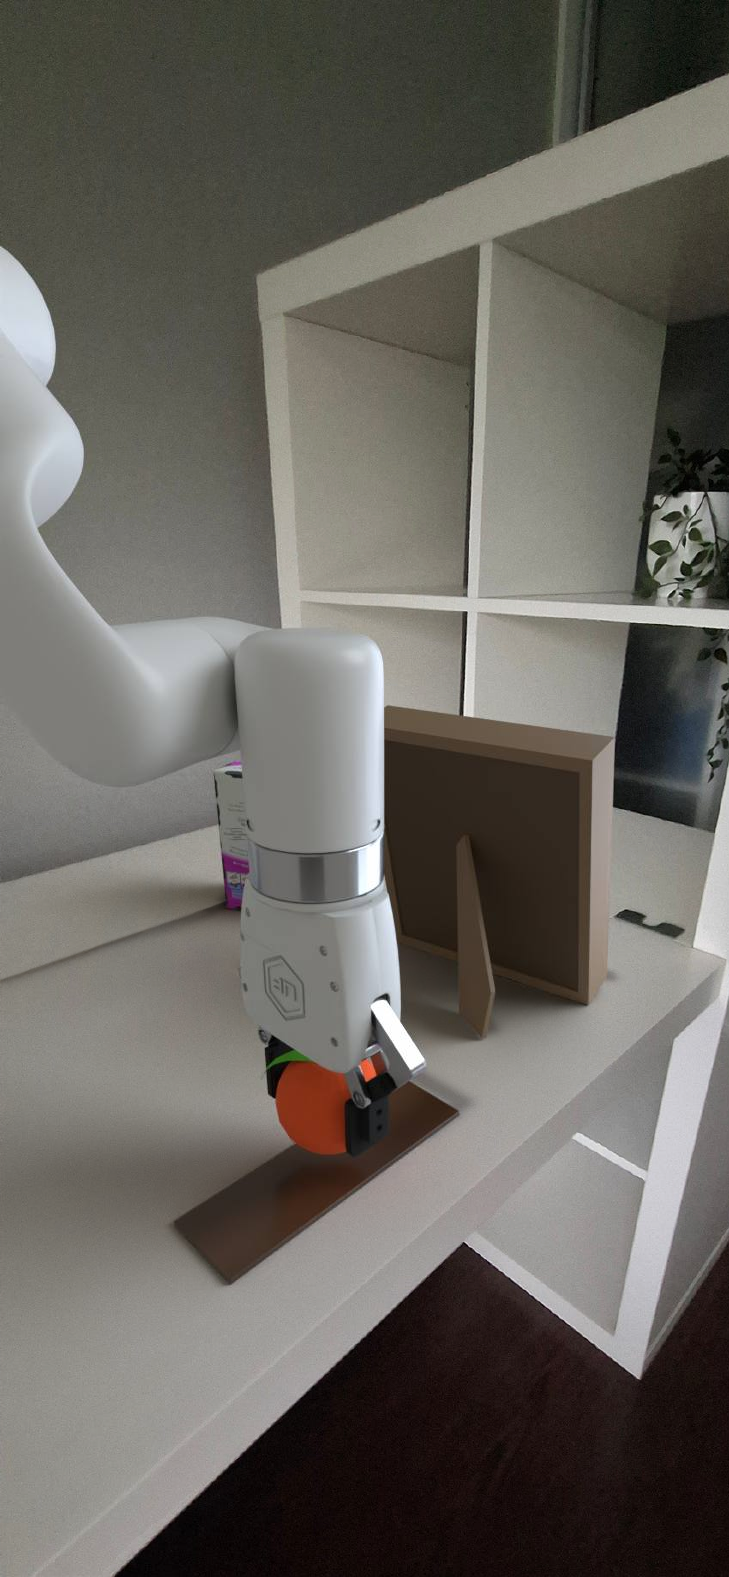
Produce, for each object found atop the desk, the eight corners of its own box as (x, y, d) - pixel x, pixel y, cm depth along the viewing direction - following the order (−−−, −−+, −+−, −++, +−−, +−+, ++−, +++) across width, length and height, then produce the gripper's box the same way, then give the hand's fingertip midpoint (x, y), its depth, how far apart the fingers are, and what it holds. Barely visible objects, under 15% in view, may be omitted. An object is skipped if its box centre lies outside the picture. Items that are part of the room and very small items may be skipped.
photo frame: (417, 927, 86) (421, 696, 75) (605, 985, 74) (639, 725, 64) (331, 983, 74) (322, 721, 64) (537, 1062, 63) (566, 760, 53)
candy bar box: (330, 904, 91) (326, 767, 84) (313, 922, 86) (307, 778, 80) (244, 892, 94) (234, 758, 87) (223, 908, 89) (210, 769, 83)
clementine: (248, 1170, 49) (241, 1078, 46) (278, 1100, 55) (273, 1015, 52) (373, 1184, 48) (374, 1091, 45) (389, 1111, 54) (390, 1025, 52)
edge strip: (173, 1225, 48) (173, 1221, 47) (401, 1079, 61) (401, 1075, 61) (230, 1284, 44) (230, 1279, 44) (459, 1115, 57) (459, 1110, 57)
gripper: (174, 839, 46) (202, 1082, 54) (377, 932, 36) (378, 1221, 43) (275, 812, 51) (288, 1037, 59) (480, 886, 41) (466, 1151, 48)
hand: (326, 1113), depth 51 cm, fingers closed on clementine, 7 cm apart
